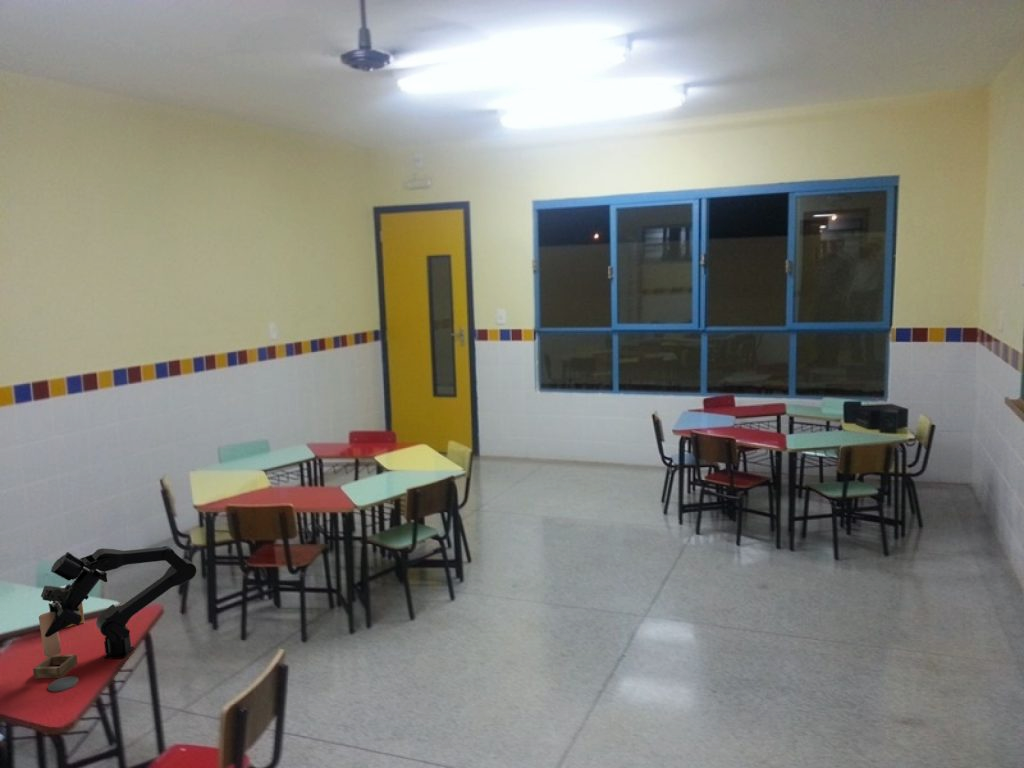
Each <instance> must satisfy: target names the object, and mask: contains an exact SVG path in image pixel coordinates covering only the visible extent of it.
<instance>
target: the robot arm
mask: <svg viewBox="0 0 1024 768" xmlns="http://www.w3.org/2000/svg"><path fill="white" fill-rule="evenodd" d="M164 561H165V562H167V563H168V564H169V565H170V566H169V567H168V568H167V569H166V571H165V573H164V574H163V575H162V576H161V577H160V578H159V579H157V580H156V581H154V582H153V583H151V584H150V585H149V586H148V587H146V588H145V589H143V590H142V591H140V592H139V593H137V594H136V595H134V597H131V599H129V600H128V601H126V602H125V603H123V604H122V605H119V606H116V605H115V604H114V603H113V604H111V605H110V606H109V607H108V608H107V609H105V610H103V611H101V612H100V614H99V616H98V617H97V619H96V624H95V625H96V627H97V629H98V631H100V634H101V635H103V636H104V642H103V643H104V651H105V655H104V656H103V657H104V659H124V658H126V657H127V656H128V655H129V654H130V653H131V652H132V651H133V650H134V649H135V646H132V643H131V636H130V634H131V630H130V629H129V628H128V626H127V624H128V622H129V621H130V620H131V618H132V617H133V616H135V615H136V614H137V613H139V612H140V611H141V610H143V609H144V608H145V607H147V606H148V605H150V604H151V603H153V602H154V601H155V600H157V599H158V598H160V596H162V595H163V594H165V593H167V592H168V591H169V590H170V589H171V588H173V587H177V586H180V585H183V584H186V583H187V582H189V581H191V580H193V578H194V577H195V576H196V575H197V566H196V565H195V564H194V563H192V562H191V560H189V559H187V558H183V557H182V558H181V557H180V556H179V554H177V553H176V552H175V550H174V549H173V548H171V546H168V545H165V546H161V547H149V548H140V549H139V548H138V549H129V550H121V549H115V548H98V549H97V550H95V552H93V553H92V554H89V555H86V556H83V557H81V558H79V557H76V556H74V554H72V553H71V552H69V551H67V552H65V554H63V555H62V556H60V557H59V558H58V559H56V561H54V563H53V565H52V567H51V569H50V572H51V573H53V574H55V575H57V576H59V577H60V578H62V579H64V580H66V581H68V582H69V581H71V580H72V583H68V584H65V585H66V587H65V588H61V587H60V586H53V585H44V587H43V590H42V592H41V595H40V597H41V600H43V601H47V602H48V608H49V612H54V620H53V622H52V624H51V625H50V627H49V628H48V630H47V632H46V634H45V636H46V637H49V636H51V635H53V634H54V633H56V632H58V631H61V630H63V629H64V628H68V627H67V626H69V625H70V624H75V625H74V626H79V625H80V624H79V623H80V622H81V621H82V616H81V615H80V613H79V612H78V610H79V605H80V604H81V603H82V604H83V602H84V600H88V599H89V597H90V596H89V594H90V593H91V592H92V590H94V588H95V586H96V585H97V584H98V583H99V581H100V580H101V581H102V582H104V583H107V582H108V578H107V575H108V573H107V572H109V571H112V570H117V569H119V568H121V567H123V566H129V565H136V564H146V563H155V562H164ZM70 584H71V585H70ZM49 602H52V603H49ZM69 627H70V626H69Z"/></svg>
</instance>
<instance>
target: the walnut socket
mask: <svg viewBox="0 0 1024 768" xmlns="http://www.w3.org/2000/svg"><path fill="white" fill-rule="evenodd" d="M77 664H79V663H78V656H77V654H57V655H54V656H49V657H46V658H45V659H44V660H42V661H41V662H40V663H38V664H37V665H36V666H34V667H33V668H32V671H33V678H34V679H60V678H63V677H65V675H66V674H68V673H69V672H70V671H71V670H72V669H73V668H74V667H76V666H77ZM55 665H60V666H55ZM75 665H76V666H75Z"/></svg>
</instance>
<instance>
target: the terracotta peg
mask: <svg viewBox="0 0 1024 768" xmlns="http://www.w3.org/2000/svg"><path fill="white" fill-rule="evenodd" d="M53 620H54V612H50V611H49V612H45V613H42V614H40V615H39V616H38V623H39V629H40V635H41V643H42V649H43V655H44V656H45V657H46V658H48V657H49V656H54V655H60V653H61V652H62V647H61V639H60V633H59V631H60V630H59V631H58V632H56V633H54V634H53V635H51V636H49V637H46V636H45V634H46V632H47V630H48V628H49V627H50V625H51V624H52V622H53Z"/></svg>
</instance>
